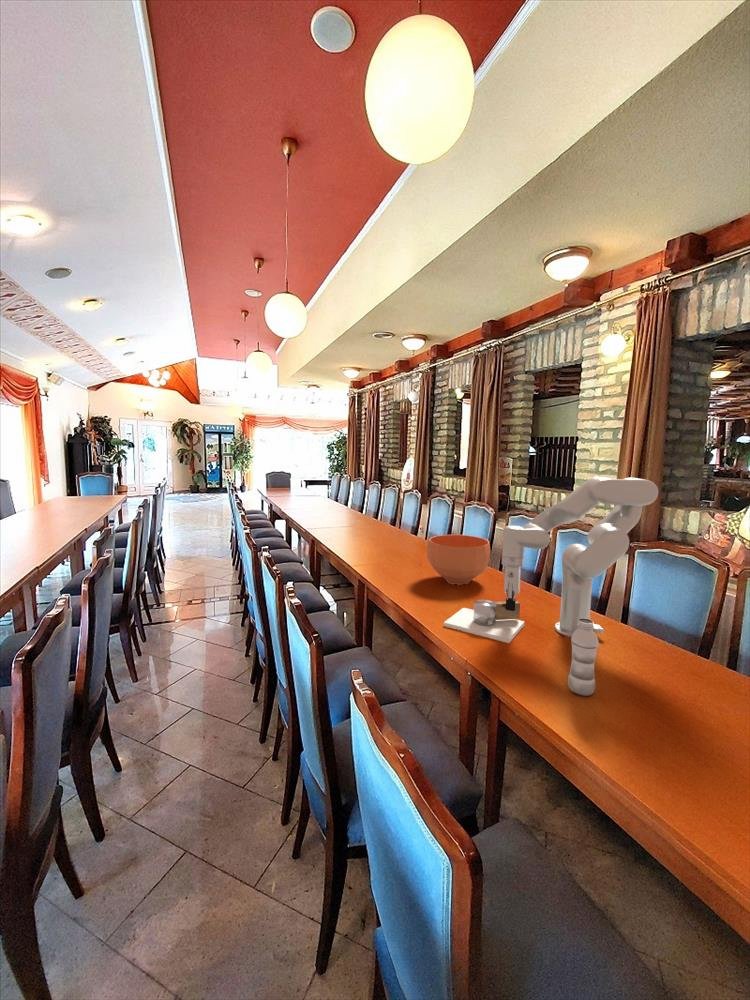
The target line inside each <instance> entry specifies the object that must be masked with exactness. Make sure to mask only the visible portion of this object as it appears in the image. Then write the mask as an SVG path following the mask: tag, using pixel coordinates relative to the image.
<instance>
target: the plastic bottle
mask: <svg viewBox="0 0 750 1000" xmlns="http://www.w3.org/2000/svg"><path fill="white" fill-rule="evenodd" d="M594 625H595V623H594V621H593V619H591V618H590V619H586V618H579V619H578V624H577V626H578V629H577V630H576V631H575V632H574V633H573V634H572V637H570V641H571V642H570V643H571V665H570V669H569V670H570V671H569V674H568V676H567V685H568V687H569V689H570V691H571V692H573V693H574V694H576V695H580V696H591V695H592V694H593V693H594V692H595V689H596V679H595V678H596V677H595V663H596V657H597V652H598V648H599V638H598V637H597V634H596V632H593V629H594Z"/></svg>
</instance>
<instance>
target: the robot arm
mask: <svg viewBox="0 0 750 1000" xmlns="http://www.w3.org/2000/svg"><path fill="white" fill-rule="evenodd" d="M658 497H659V488H658V486H657V485H656V483H655V482H653V481H652V480H649V479H646V478H645V479H644V478H639V477H625V478H622V479H621V478H620V479H619V478H609V477H602V476H593V477H591V478H589V479H587V480H585V482H583V483H582V484H580V485H579V486H578V487H577V488H575V489H574V490H573V491H572V492H571V493H570V494H568V495H567V496H565V497H563V499H562V500H561V501H558V503H555V504H553V505H551V506H550V507H548V508H546V509H545V510H542V511H541V512H540V513H539V514H537V515H535V516H534V517H533V518H532V519H530V520H529V521H528V522H527V523H526V524H525V525H524V526H523V527H522V526H520V525H506V526H504V527H503V530H502V543H501V547H502V548H501V565H503V566H504V579H503V580H504V581H503V583H504V584H503V586H504V587H503V588H504V589H503V590H504V593H505V594H506V598H505V601H506V610H509V611H515V601H517V600H516V595H517V596H518V595H519V594H520V590H521V568H522V567H523V566H525V565H524V561H525V548H528V549H532V550H533V549H534V550H542V549H545V548H546V547H548V546H549V544H550V542H551V537H550V534H549V532H551V531H552V530H554V529H555V528H557V527H559V526H562V525H565V524H570V523H573V522H576V521H579V520H580V519H581V518H582V517H584V516H585V515H586V514H588V513H589V512H590V511H592V509H594V508H596V507H597V506H598V505H599V504H603V505H611V506H612V505H614V506H613V509H612V510H611V511H610V512H609V513H608V514H607V515H606V516H605V517H603V518H602V519H601V520H600V521H598V523H596V524H595V525H594V526H593V527H592V528H591V529H590V530H589V532H588V533H587V542H588V544H589V545H588V546H586V545H584V544H581V543H571V544H569V545H568V546H566V547H565V548H564V550H563V551H562V555H561V569H562V571H561V572H562V578H561V579H562V580H561V582H562V583H561V595H560V596H561V597H560V598H561V599H560V600H561V601H560V615H559V621H558V622H556V623H555V624H554V629H555V631H556V632H557V633H559V634H561V635H564V636H566V637H570V638H571V637H572V634H573V633H574V632H575V631H576V630H577V629H578V626H577V624H578V619H579V618H586V619H590V620H591V616H590V615H591V605H592V591H593V590H592V589H593V579H595V578H597V577H599V576H601V575H602V574H603V573H605V572H606V571H607V570H608V569H609V568H610V567H612V566H613V565H614V564H615V563H616V562H618V560H620V559H621V558H622V557H623V556H624V555H625V554H626V552H627V551H628V549H629V546H630V537H629V535H628V533H629V532H630V531H631V530H632V529H633V528H634V527H635V526H636V525H637V524H638V523H639V521H640V519H641V517H642V513H643V506H647V505H648V506H649V505H651V504H653V503H654V502H655V501H656V500H657V499H658ZM593 632H594V633H598V634H601V635H603V633H604V628H603V627H601V625H599V624H594V629H593Z"/></svg>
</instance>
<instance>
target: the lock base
mask: <svg viewBox="0 0 750 1000" xmlns="http://www.w3.org/2000/svg"><path fill="white" fill-rule="evenodd" d="M473 614H474V609H471V608H467V607H462V608H461V609H459V611H457V612H456V613H454V614H453V615H452V616H451V617H449V618H448V619H445V621H444V622H443V627H446V628H449V629H454V630H456V629H457V631H460V630H461V632H464V633H469V634H472V635H477V636H481V637H483V638H487V639H491V640H495V641H499V642H503V643H507V644H510V643H511V642H512V641H513V639H514V638H515V637H516V636H517V635H518V634H519V632H520V631H521V630H522V628H524V627H525V621H524V620H520V619H507V620H496V623H495V624H494V625H489V626H486V625H480V624H477V623H475V622H474V621H473Z"/></svg>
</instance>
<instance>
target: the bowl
mask: <svg viewBox="0 0 750 1000" xmlns="http://www.w3.org/2000/svg"><path fill="white" fill-rule="evenodd" d="M490 543H491V542H490V540H488V539H486V538H484V537H480V536H475V535H469V534H468V535H467V534H441V535H435V536H431V537H430V538H429V539H428V542H427V548H426V553H427V554H426V556H427V559H428V562H429V565H430V566H431V567H432V569H433V571H435V572H436V573H437V574H438V575H439V576H441V577H442V578H443V579H445V582H446V581H447V582H448V584H450V585H454V584H457V585H456V586H463V585H462V584H466V585H468V584H470V581H472V580H473V579H475V578H477V577H478V576H480V575H482V574H483V573H484V572H485V570H486V569H487V568H488V567H489V564H490V561H491V553H492V552H491V551H492V550H491V544H490ZM447 582H446V583H447Z"/></svg>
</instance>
